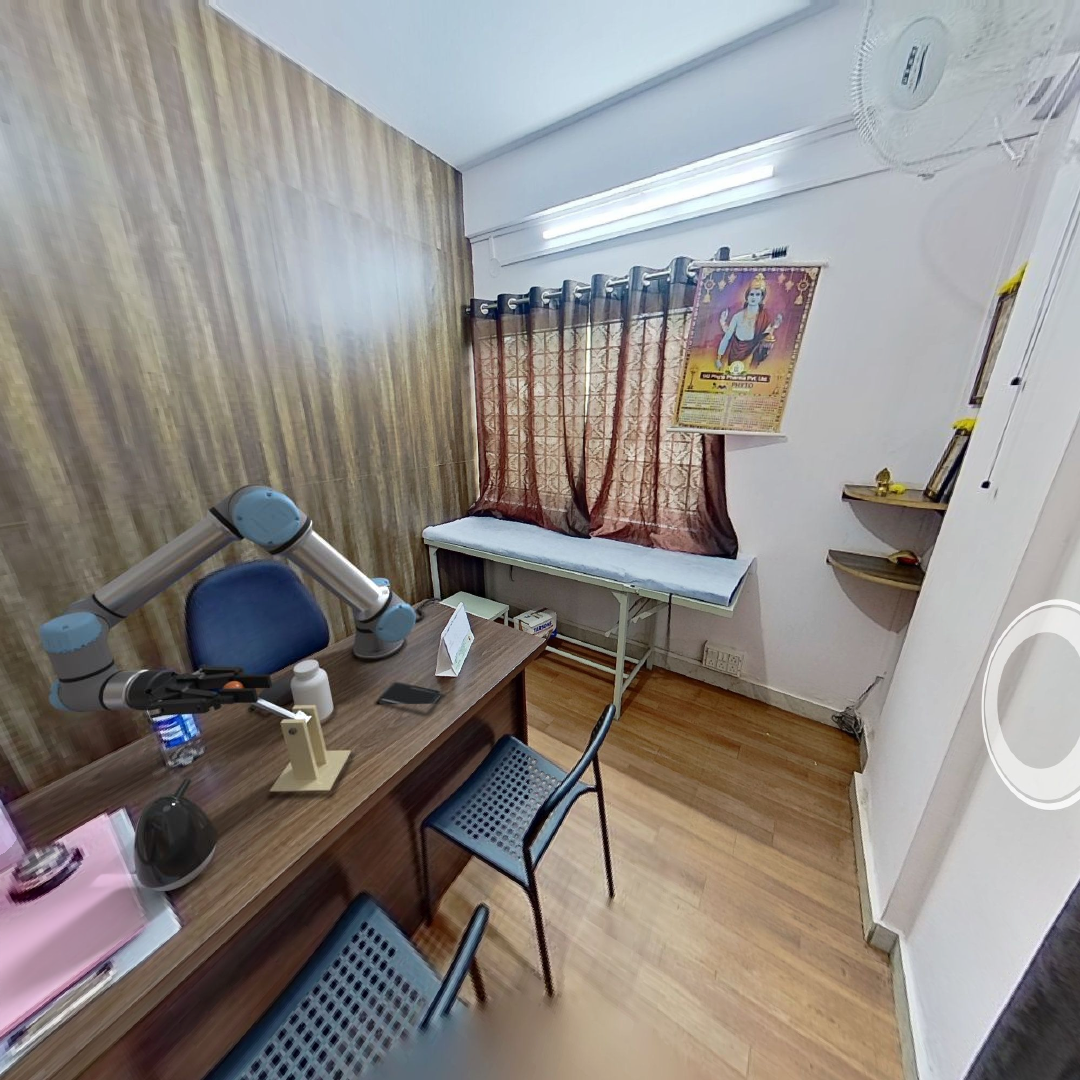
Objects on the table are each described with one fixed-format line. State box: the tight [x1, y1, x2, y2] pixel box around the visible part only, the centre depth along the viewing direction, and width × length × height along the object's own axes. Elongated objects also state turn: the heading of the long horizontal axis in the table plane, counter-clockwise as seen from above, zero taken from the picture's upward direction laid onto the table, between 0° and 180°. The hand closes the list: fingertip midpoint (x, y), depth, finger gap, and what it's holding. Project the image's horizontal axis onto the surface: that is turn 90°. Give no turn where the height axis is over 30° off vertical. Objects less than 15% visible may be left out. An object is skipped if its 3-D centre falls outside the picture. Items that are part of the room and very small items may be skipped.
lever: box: [221, 681, 312, 724], centre depth 82 cm, size 17×4×4 cm
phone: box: [378, 681, 442, 705], centre depth 109 cm, size 8×1×15 cm
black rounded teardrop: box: [133, 778, 219, 892], centre depth 68 cm, size 10×10×15 cm
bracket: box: [269, 704, 352, 793], centre depth 85 cm, size 12×10×16 cm
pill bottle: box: [291, 659, 334, 722], centre depth 102 cm, size 8×8×15 cm
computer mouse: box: [250, 674, 295, 712], centre depth 111 cm, size 8×14×4 cm, turn 150°
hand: (262, 688), depth 81 cm, fingers closed on lever, 4 cm apart
